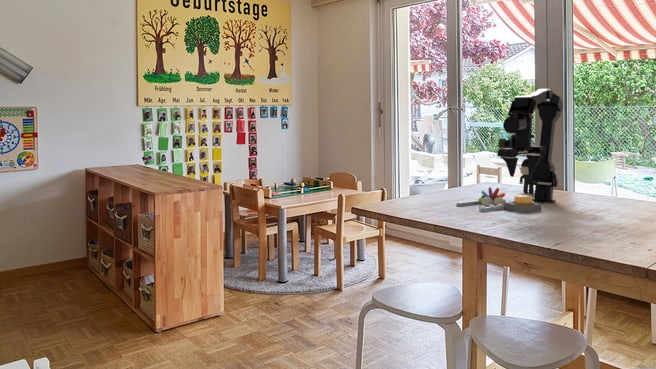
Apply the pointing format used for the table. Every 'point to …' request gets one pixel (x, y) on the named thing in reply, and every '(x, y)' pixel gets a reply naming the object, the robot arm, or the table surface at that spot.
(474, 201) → the rail
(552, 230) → the table surface
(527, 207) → the dome housing
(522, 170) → the toy
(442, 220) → the table surface
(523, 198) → the dome
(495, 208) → the rail
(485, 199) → the multicoloured petal shapes
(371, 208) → the table surface
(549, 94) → the robot arm
